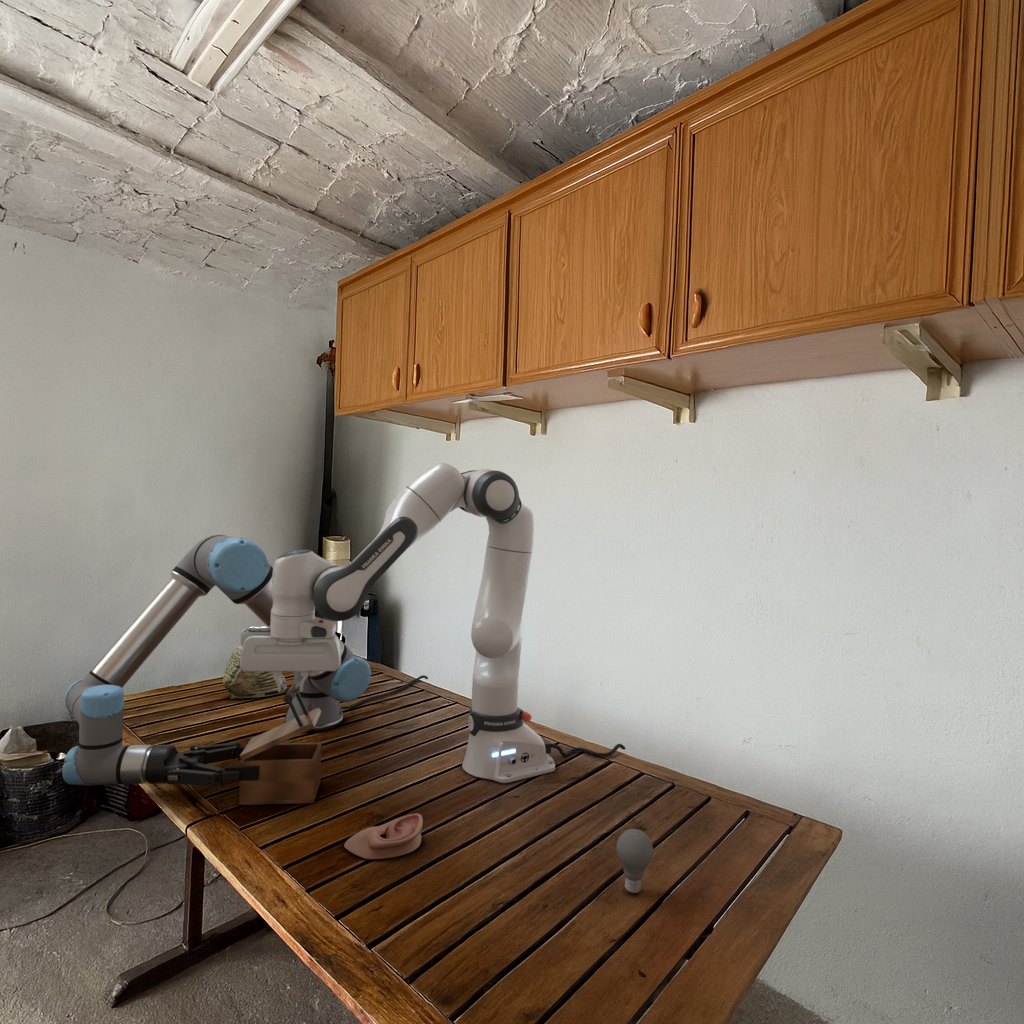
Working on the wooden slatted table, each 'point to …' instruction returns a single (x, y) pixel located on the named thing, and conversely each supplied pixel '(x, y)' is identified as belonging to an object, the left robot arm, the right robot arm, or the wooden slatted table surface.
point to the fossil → (248, 680)
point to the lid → (283, 727)
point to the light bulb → (634, 857)
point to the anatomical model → (387, 838)
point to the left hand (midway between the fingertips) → (264, 762)
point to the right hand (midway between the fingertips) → (290, 691)
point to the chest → (283, 775)
